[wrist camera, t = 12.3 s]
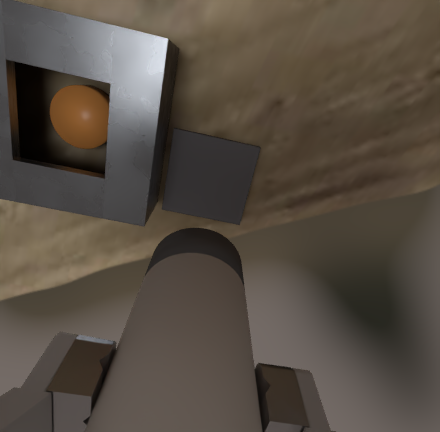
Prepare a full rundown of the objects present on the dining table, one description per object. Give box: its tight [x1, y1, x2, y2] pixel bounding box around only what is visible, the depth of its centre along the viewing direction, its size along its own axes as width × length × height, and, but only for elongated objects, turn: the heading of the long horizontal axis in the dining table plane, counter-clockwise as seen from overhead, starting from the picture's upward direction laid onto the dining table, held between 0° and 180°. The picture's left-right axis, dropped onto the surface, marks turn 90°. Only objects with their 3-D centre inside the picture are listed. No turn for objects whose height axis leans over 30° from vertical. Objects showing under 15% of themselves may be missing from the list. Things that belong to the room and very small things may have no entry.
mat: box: [162, 128, 260, 225], centre depth 25 cm, size 7×7×1 cm
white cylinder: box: [84, 228, 262, 432], centre depth 8 cm, size 4×4×12 cm
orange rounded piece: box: [50, 85, 110, 149], centre depth 22 cm, size 4×4×2 cm
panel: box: [0, 0, 179, 226], centre depth 20 cm, size 18×12×6 cm, turn 78°
